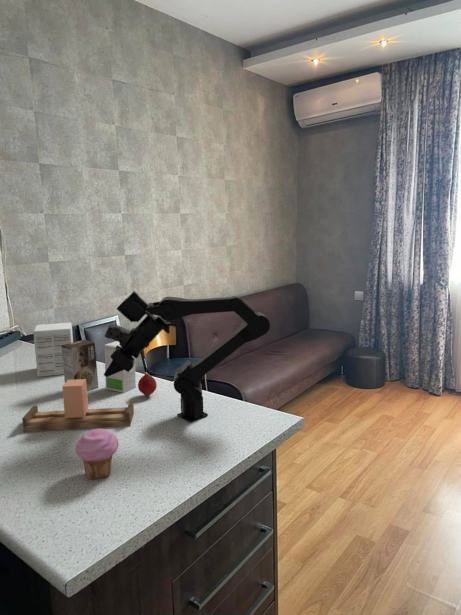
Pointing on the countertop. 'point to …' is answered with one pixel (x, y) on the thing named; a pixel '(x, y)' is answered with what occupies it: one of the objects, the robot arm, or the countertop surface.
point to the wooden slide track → (77, 419)
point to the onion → (147, 384)
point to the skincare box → (119, 380)
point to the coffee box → (80, 362)
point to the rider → (75, 398)
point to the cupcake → (97, 452)
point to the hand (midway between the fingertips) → (106, 374)
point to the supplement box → (51, 347)
